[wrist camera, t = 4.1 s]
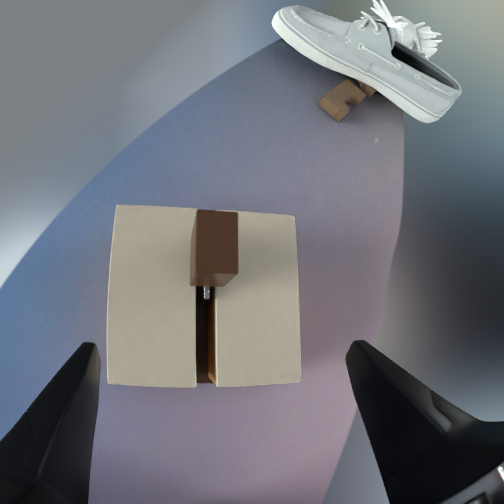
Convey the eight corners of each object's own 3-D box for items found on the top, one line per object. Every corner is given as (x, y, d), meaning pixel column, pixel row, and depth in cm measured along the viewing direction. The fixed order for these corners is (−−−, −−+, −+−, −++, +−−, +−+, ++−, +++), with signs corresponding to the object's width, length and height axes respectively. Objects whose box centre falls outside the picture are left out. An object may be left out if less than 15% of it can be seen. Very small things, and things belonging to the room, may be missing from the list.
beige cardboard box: (276, 378, 23) (302, 389, 18) (120, 379, 20) (106, 391, 15) (272, 232, 26) (296, 208, 21) (126, 223, 23) (116, 196, 18)
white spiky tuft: (425, 94, 35) (456, 58, 27) (351, 57, 33) (377, 12, 25) (414, 54, 38) (438, 22, 30) (351, 23, 37) (370, -14, 29)
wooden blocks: (354, 110, 28) (300, 66, 28) (341, 125, 31) (291, 83, 31) (421, 50, 39) (389, 23, 39) (412, 59, 42) (381, 33, 42)
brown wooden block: (213, 306, 23) (239, 289, 14) (185, 305, 22) (194, 288, 13) (213, 248, 24) (238, 198, 15) (187, 247, 23) (197, 195, 14)
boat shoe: (258, 37, 29) (281, -19, 22) (284, 14, 33) (306, -32, 25) (431, 147, 32) (477, 113, 24) (433, 109, 35) (469, 77, 27)
